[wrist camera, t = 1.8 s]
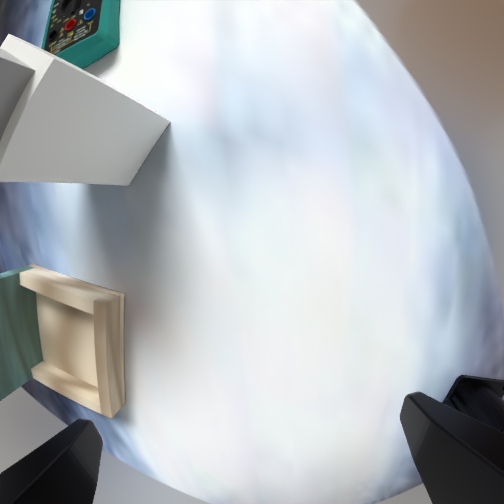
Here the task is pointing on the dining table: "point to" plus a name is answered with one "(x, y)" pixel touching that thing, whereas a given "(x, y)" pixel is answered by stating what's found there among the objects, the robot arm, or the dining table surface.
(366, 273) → the dining table surface
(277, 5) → the dining table surface
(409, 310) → the dining table surface
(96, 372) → the tray
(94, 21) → the digital multimeter
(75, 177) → the connector plug
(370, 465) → the dining table surface
